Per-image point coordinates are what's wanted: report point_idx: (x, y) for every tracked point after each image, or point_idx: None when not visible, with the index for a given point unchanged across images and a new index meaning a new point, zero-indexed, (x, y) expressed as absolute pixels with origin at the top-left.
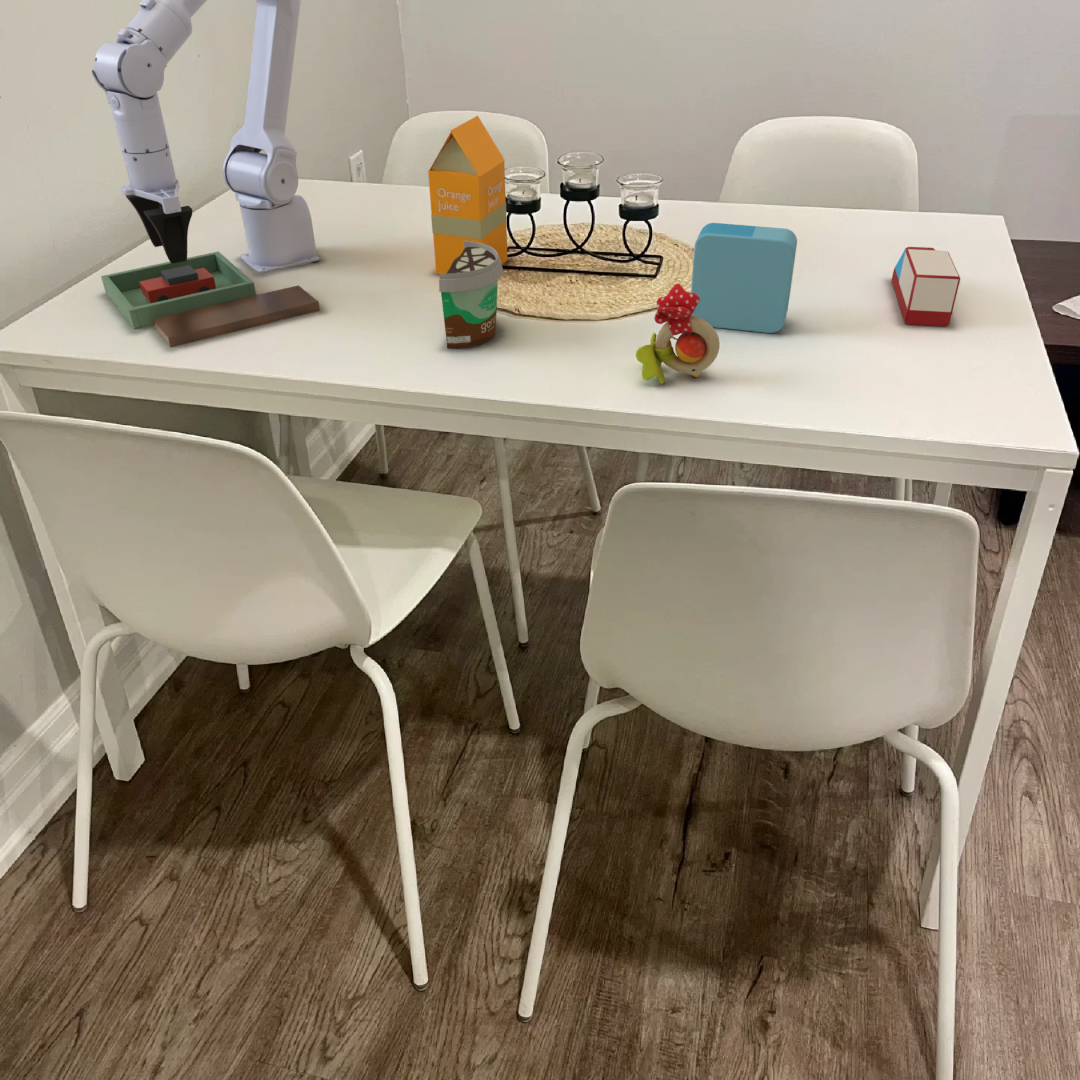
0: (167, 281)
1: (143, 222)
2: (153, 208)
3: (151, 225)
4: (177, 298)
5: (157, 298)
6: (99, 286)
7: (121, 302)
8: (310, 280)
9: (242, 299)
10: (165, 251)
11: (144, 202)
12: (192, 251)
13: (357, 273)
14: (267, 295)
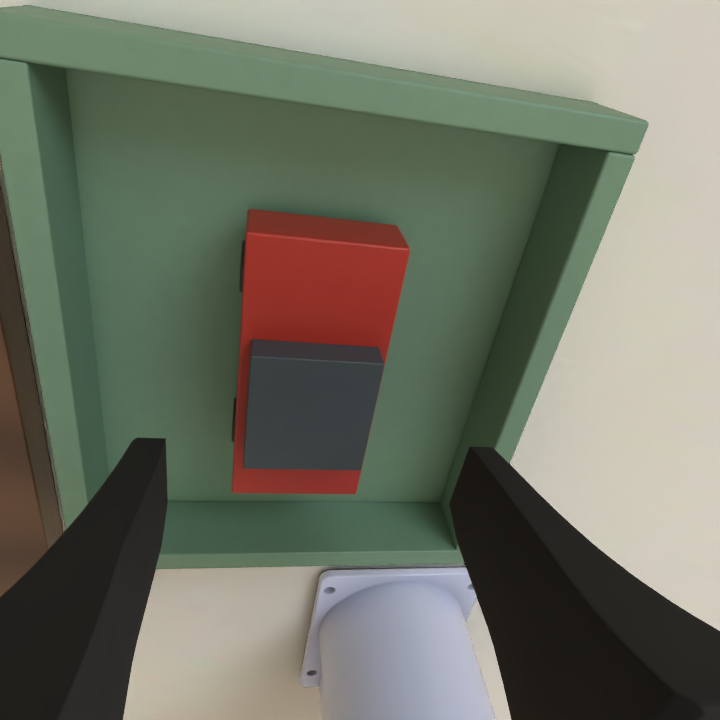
0: (272, 346)
1: (557, 543)
2: (548, 680)
3: (516, 552)
4: (45, 309)
5: (244, 250)
6: (713, 123)
7: (195, 44)
8: (183, 638)
9: (19, 492)
10: (128, 481)
11: (599, 710)
12: (665, 491)
13: (156, 709)
14: (15, 556)
